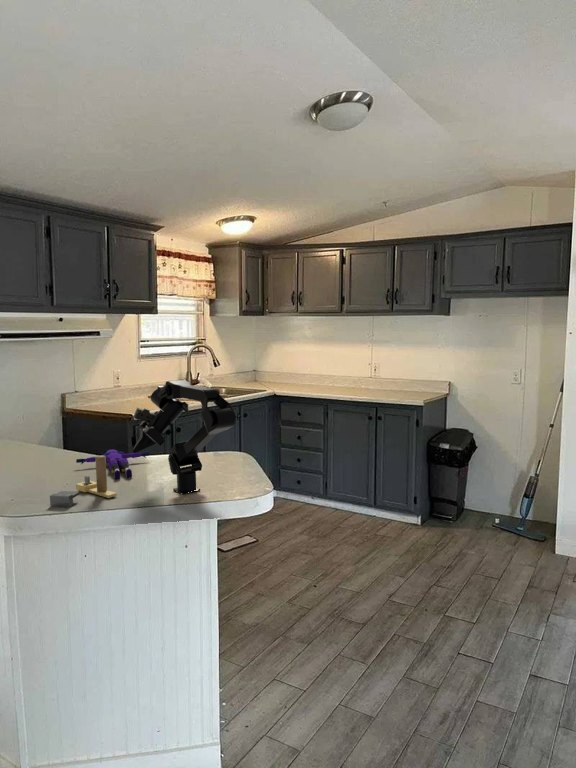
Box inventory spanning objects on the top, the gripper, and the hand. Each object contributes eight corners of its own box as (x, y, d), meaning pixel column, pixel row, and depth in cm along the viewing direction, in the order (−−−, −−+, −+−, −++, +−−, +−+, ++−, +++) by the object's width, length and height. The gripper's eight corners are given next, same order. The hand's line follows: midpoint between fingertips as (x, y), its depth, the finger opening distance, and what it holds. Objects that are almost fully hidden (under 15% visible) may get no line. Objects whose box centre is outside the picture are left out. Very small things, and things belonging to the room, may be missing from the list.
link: (76, 489, 179) (74, 453, 178) (90, 486, 183) (88, 450, 182) (105, 498, 169) (103, 460, 168) (119, 494, 173) (118, 457, 172)
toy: (162, 476, 199) (146, 457, 226) (162, 461, 198) (145, 444, 225) (81, 486, 188) (74, 465, 215) (81, 470, 187) (73, 451, 214)
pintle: (97, 490, 179) (96, 476, 179) (83, 493, 177) (83, 479, 176) (91, 487, 183) (90, 474, 182) (78, 490, 180) (77, 476, 179)
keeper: (61, 499, 170) (61, 489, 170) (80, 500, 169) (79, 490, 169) (50, 506, 164) (49, 495, 163) (69, 507, 163) (68, 496, 163)
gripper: (145, 395, 186) (112, 431, 184) (152, 401, 169) (115, 441, 166) (169, 417, 190) (137, 452, 187) (179, 425, 172) (143, 464, 170)
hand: (133, 452), depth 177 cm, fingers closed
